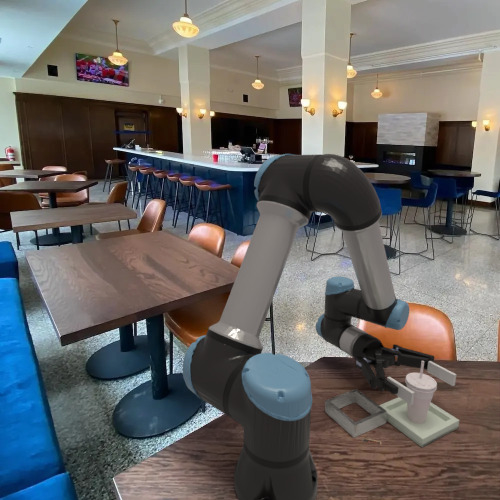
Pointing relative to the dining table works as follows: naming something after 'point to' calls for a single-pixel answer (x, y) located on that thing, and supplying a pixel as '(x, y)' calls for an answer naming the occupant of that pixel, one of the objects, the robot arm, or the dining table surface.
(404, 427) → the tray
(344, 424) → the square frame
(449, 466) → the dining table surface
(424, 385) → the smoothie
